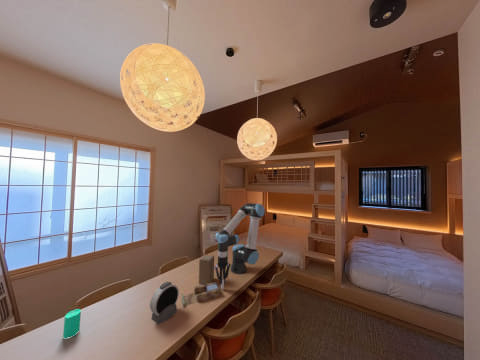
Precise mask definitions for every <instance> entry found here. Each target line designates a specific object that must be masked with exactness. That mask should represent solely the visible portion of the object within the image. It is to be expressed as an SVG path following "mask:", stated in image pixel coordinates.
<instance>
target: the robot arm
mask: <svg viewBox="0 0 480 360" xmlns="http://www.w3.org/2000/svg"><path fill="white" fill-rule="evenodd" d="M265 212H266V211H265V207H264V205H263V204H261V203H255V202H254V203H253V202H252V203H251V202H248V203H245V204H243V205H241V207H240V208H239V209H237V212H236V214H235V215H234V216H233V217H232V219H230V221H229V222H228V223H227V224H226V225H225V226H224V227H223V229H222V230H221V231H218V232H216V233H215V236H214V237H215V240H216V241H217V245H218V246H217V250H218V251H217V264H216V265H214V270H215V272H216V273H215V274H216V278H217V280H219V284H220V288H221V290H224V289H225V283H226V279H227V278H228V276H229V272H231V273H232V274H236V275H238V274H244V273H246V272H247V265H246V264H249V265H251V266H252V265H255V264H256V263H257V262H258V261H259V258H260V254H259V251H258V248H257V240H258V234H259V233H258V232H259V224H260V220H261V219H262V217H263V216H264V215H265ZM247 216H248V217H249V226H248V233H247V238H246V239H247V240H246V241H247V242H246V245H245V244H242V243H241V244H239V243H240V236H239V235H238V234H232V233H233V231H234V230H235V229H236V228H237V227H238V226H239V224H240V222H241V221H242V220H243V219H244V218H246V217H247ZM230 246H232V262H231V263H229V262H228V260H229V259H228V256H229V255H228V254H229V253H228V252H229V247H230Z"/></svg>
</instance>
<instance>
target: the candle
mask: <svg viewBox="0 0 480 360" xmlns="http://www.w3.org/2000/svg"><path fill="white" fill-rule="evenodd" d="M81 312H82V310H81V309H80V308H75V309H73V310H70V311H68V312H67V313H66V315H64V320H63V332H62V334H63V335H62V338H63V337H64V338H67V337H71V336H73V335H75V334H76V333H77V332H78V331H79V332H80V330H81V329H80V327H81V326H80V325H81V314H82V313H81ZM75 336H76V335H75Z"/></svg>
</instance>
